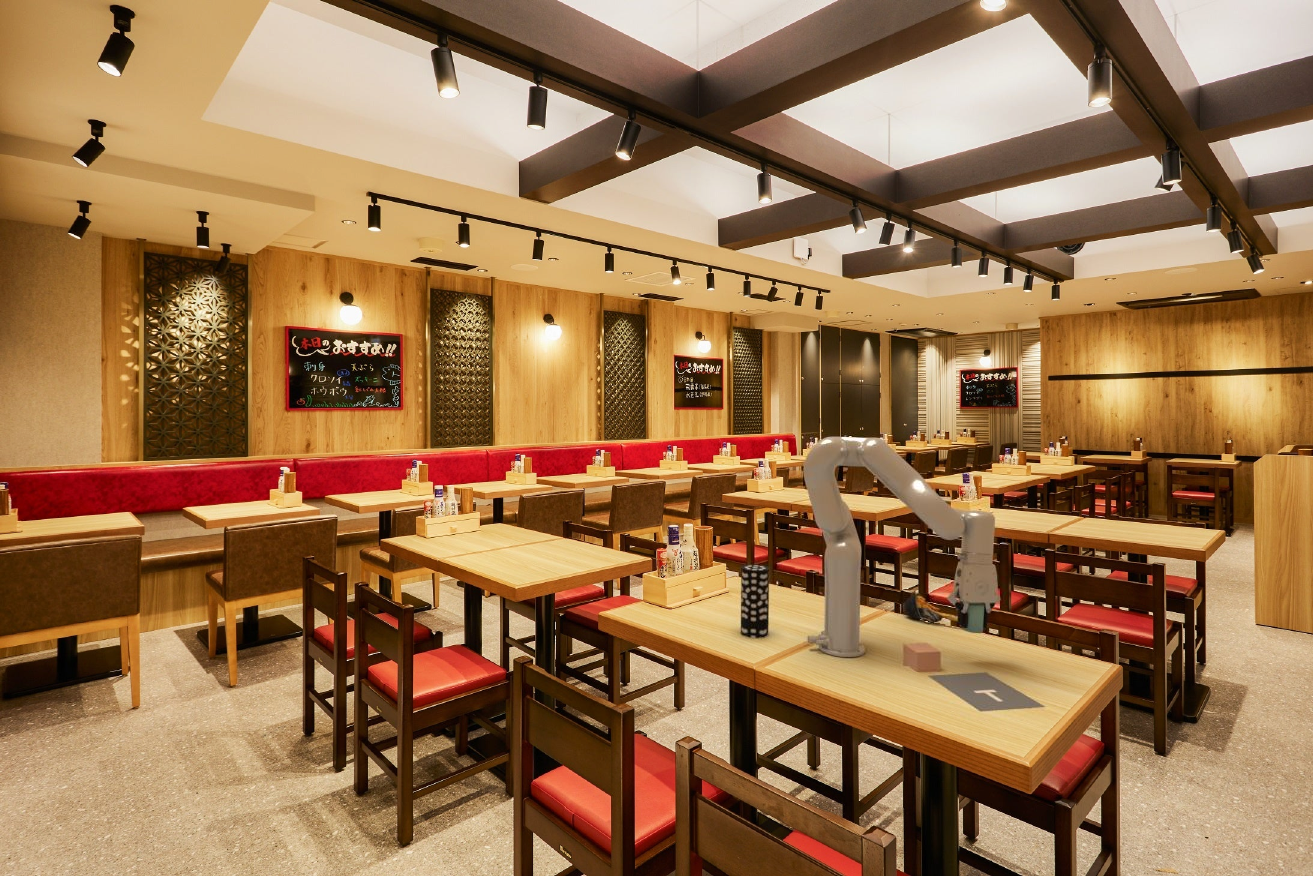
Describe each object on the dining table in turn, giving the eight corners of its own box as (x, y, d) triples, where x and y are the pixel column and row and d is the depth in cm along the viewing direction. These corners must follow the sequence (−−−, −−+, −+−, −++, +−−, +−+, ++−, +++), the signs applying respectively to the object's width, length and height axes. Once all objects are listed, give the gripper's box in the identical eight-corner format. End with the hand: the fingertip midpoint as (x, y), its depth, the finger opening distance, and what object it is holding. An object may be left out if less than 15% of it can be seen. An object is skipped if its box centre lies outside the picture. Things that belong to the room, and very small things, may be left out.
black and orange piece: (906, 598, 219) (961, 589, 209) (912, 631, 213) (969, 624, 204) (896, 593, 212) (952, 583, 202) (902, 627, 207) (960, 619, 197)
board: (980, 715, 141) (980, 711, 141) (927, 679, 160) (927, 675, 160) (1045, 711, 143) (1045, 706, 143) (985, 676, 163) (986, 672, 163)
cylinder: (969, 633, 167) (971, 606, 167) (957, 627, 172) (959, 601, 172) (986, 633, 168) (988, 606, 168) (974, 626, 173) (976, 601, 173)
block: (916, 676, 163) (917, 652, 163) (903, 666, 169) (903, 643, 169) (940, 674, 164) (940, 651, 164) (925, 665, 170) (926, 642, 170)
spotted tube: (739, 636, 192) (739, 569, 191) (742, 628, 200) (742, 564, 199) (767, 639, 190) (768, 571, 189) (769, 630, 198) (770, 565, 197)
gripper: (955, 561, 165) (951, 631, 165) (1015, 561, 167) (1011, 631, 168) (938, 554, 172) (934, 622, 173) (996, 555, 175) (991, 621, 175)
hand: (972, 625), depth 170 cm, fingers closed on cylinder, 5 cm apart
